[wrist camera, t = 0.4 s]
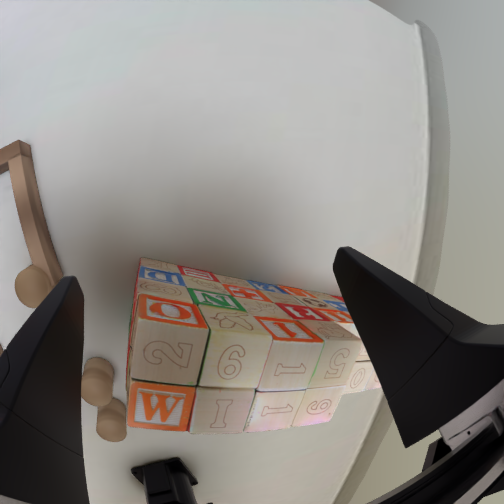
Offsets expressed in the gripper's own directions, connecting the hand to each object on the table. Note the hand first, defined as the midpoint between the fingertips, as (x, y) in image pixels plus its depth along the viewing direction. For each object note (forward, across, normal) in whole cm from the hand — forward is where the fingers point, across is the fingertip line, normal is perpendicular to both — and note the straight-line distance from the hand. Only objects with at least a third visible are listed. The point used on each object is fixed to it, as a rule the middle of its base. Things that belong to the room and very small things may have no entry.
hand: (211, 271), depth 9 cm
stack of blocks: (+10, -5, +14) cm, 18 cm away
